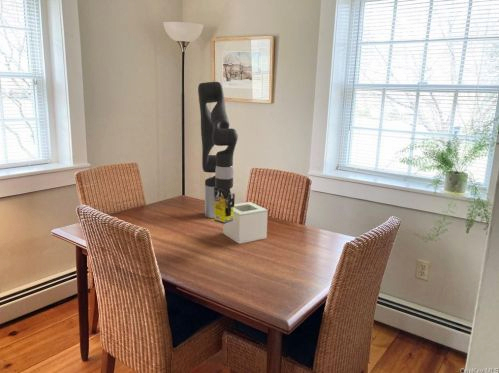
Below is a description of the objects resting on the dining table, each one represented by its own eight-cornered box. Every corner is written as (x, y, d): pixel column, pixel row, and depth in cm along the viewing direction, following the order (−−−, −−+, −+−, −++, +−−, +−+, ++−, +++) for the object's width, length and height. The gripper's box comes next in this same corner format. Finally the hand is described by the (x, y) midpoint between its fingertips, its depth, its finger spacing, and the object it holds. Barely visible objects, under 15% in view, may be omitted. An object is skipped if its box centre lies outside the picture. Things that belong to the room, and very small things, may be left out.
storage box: (223, 233, 198) (223, 205, 194) (249, 228, 206) (250, 201, 202) (239, 243, 185) (239, 214, 182) (266, 238, 193) (267, 209, 190)
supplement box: (224, 224, 174) (224, 199, 171) (213, 221, 177) (214, 196, 174) (233, 220, 178) (233, 196, 176) (222, 217, 182) (223, 193, 179)
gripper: (208, 173, 177) (208, 210, 181) (224, 180, 165) (224, 219, 169) (223, 171, 181) (223, 207, 185) (240, 178, 169) (239, 217, 173)
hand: (223, 213), depth 177 cm, fingers closed on supplement box, 7 cm apart
